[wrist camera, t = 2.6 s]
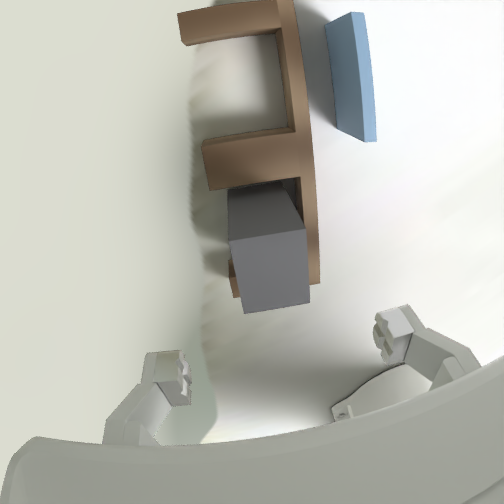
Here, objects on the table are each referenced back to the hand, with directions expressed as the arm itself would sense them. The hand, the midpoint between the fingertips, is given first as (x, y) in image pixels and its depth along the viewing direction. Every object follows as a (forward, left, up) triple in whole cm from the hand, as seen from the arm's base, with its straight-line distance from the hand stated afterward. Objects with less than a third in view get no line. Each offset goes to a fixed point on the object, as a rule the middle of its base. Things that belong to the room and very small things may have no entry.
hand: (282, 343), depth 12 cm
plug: (0, 0, -14) cm, 14 cm away
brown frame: (+5, -3, -13) cm, 14 cm away
